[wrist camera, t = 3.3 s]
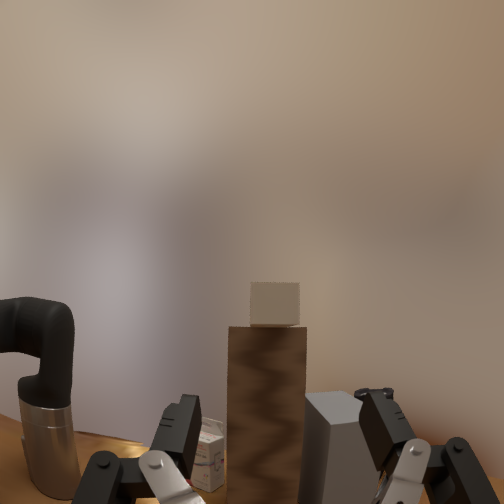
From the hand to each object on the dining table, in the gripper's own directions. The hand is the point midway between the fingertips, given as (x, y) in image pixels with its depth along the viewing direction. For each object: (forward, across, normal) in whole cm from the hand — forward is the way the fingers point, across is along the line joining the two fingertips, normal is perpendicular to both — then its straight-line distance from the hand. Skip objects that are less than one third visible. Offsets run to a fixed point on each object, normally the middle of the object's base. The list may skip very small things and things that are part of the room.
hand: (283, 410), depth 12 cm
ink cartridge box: (+18, +11, +42) cm, 47 cm away
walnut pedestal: (+8, 0, +36) cm, 37 cm away
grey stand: (+8, -10, +36) cm, 38 cm away
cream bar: (+19, 0, +6) cm, 20 cm away
